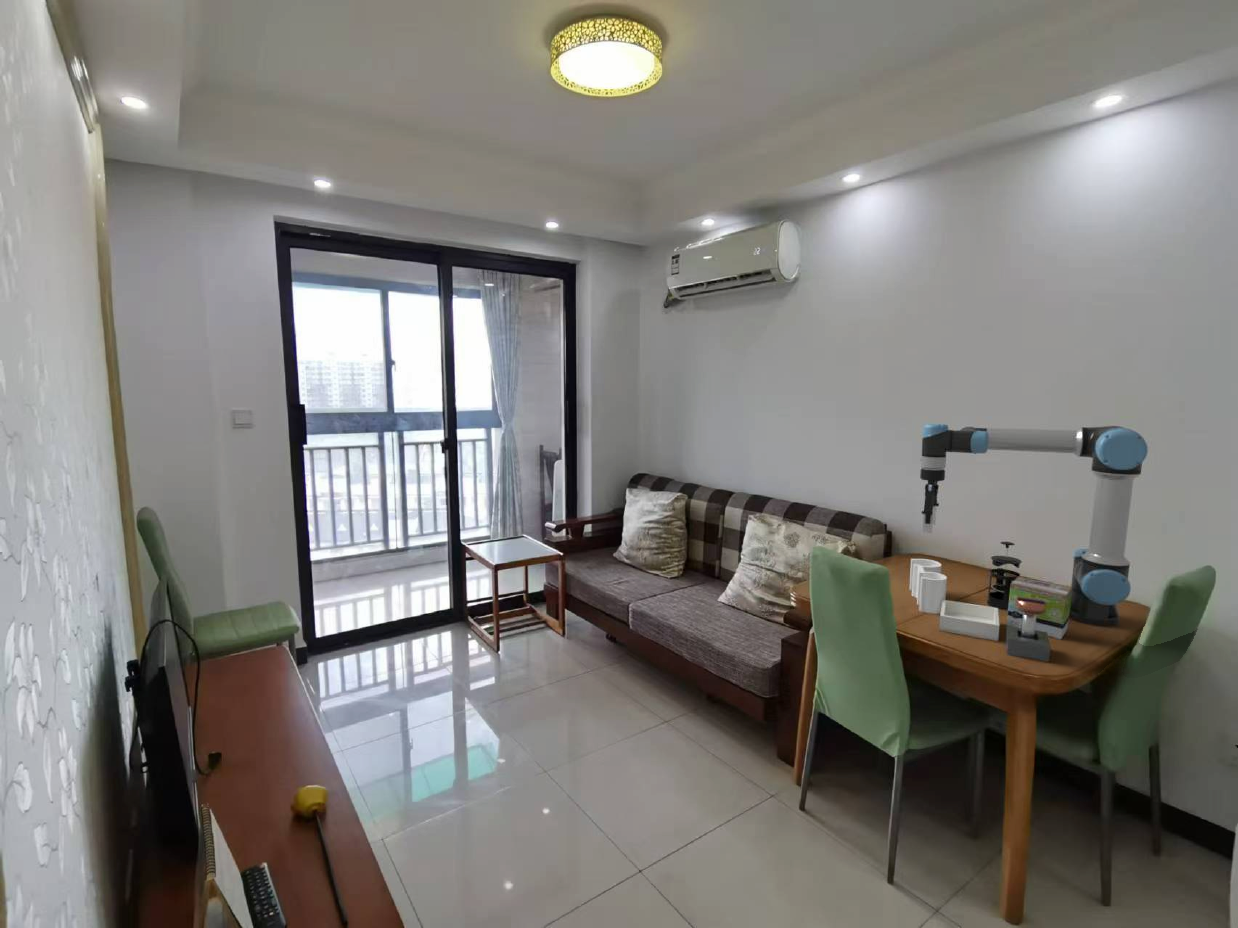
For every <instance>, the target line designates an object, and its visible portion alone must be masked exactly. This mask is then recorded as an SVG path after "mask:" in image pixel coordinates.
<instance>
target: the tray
mask: <svg viewBox="0 0 1238 928" xmlns="http://www.w3.org/2000/svg"><path fill="white" fill-rule="evenodd" d="M999 617H1000V616H999V609H998V608H994V607H991V606H989V605H988V606H987V605H981V604H976V603H975V604H972V603H967V602H961V601H955V600H948V599H945V600H943V601H942V607H941V613H940V617H939V628H938V631H941V632H945V633H952V634H957V635H961V636H962V635H963V636H969V637H974V638H979V639H985V640H988V641H989V640H992V641H996V642H999V635H1000V634H999V633H1000V618H999Z"/></svg>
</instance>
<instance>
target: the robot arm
mask: <svg viewBox="0 0 1238 928" xmlns="http://www.w3.org/2000/svg"><path fill="white" fill-rule="evenodd" d="M921 439H922V442H921V457H920V458H919V459H918V460H919V461H920V466H921V469H920V475H919V476H920V479H921V480H922V481H927V483H926V484H925V485H924V507H923V510H922V511H921V515H923V522H922V533H923V534H924V533H926V534H932V532H933V525H936V523H937V522H936V521H937V518H936V517H937V507H939V506H940V504H939V503H938V493H939V486H940V485H939V484H938V482H942V481H944V480H945V477H946V474H945V473H946V470H945V469H946V467H947V453H960V454H961V453H962V454H963V453H964V454H965V453H966V454H974V455H976V454H986V453H987V452H988V451H989V450H990V451H992V450H993V451H1010V452H1035V453H1056V454H1057V453H1059V454H1074V455H1075V456H1077V457H1079V458H1080V457H1083V458H1091V459H1092V461H1091V472H1092V473H1093V474H1094V475H1095V477H1096V481H1095V482H1096V483H1095V491H1094V500H1093V508H1092V510H1093V511H1092V518H1091V525H1090V526H1091V527H1090V537H1089V545H1088V548H1078V549H1076V550H1075V551H1074V555H1073V557H1072V558H1073V567H1072V574H1071V575H1072V576H1071V584H1070V585H1071V586H1070V587H1072V596H1071V605H1070V613H1069V619H1071V620H1073V621H1076V622H1080V623H1083V624H1088V625H1093V626H1098V627H1099V626H1101V627H1114V626H1118V625H1119V624H1120V619H1121V615H1120V611H1119V609H1118V604H1120V603H1122V602H1123V601H1126V599H1127V598H1128V597H1129V596H1130V593H1131V588H1132V587H1131V582H1130V581H1129V573H1130V563H1131V562H1130V561H1129V560H1128V559H1127V558H1126V556H1125V553H1126V552H1125V551H1126V543H1127V535H1128V526H1129V519H1130V518H1129V517H1130V511H1131V503H1132V502H1131V501H1132V494H1133V484H1134V480H1135V479H1136V478H1138V477H1139V476H1141V475H1142V469H1143V468H1142V467H1143V462H1144V461H1145V459H1146V458H1147V456H1148V449H1149V448H1148V444H1147V442H1146V439H1144V437H1143V436H1142V435H1141V434H1140V433H1138V432H1137V431H1135V430H1132V429H1130V428H1126V427H1122V426H1117V425H1107V426H1106V425H1105V426H1096V427H1095V426H1093V427H1085V426H1084V427H1082V426H1081V427H1078V428H1077V429H1074V430H1073V429H1071V430H1070V429H1039V428H1038V429H1035V428H1034V429H1033V428H1030V429H1029V428H997V427H995V428H993V427H991V428H990V427H985V428H984V427H973V426H965V427H962V428H961V429H960V430H957V429H956V430H953V429H949V425H948V424H946V423H926V424H925V425H924V426H923V431H922V437H921Z"/></svg>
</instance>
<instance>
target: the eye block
mask: <svg viewBox="0 0 1238 928" xmlns="http://www.w3.org/2000/svg"><path fill="white" fill-rule="evenodd" d="M1021 632H1022V628H1017V627H1012V626H1007V625H1006V634H1005V649H1006V650H1005V651H1006V654H1007V655H1009V656H1015V657H1019V658H1025V659H1031V660H1034V661H1035V660H1037V661H1040V662H1046V663H1049V661H1050V653H1051V643H1050V639H1049V636H1048V635H1047V632H1041V631H1035V635H1034V639H1029V638H1023V637H1021Z"/></svg>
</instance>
